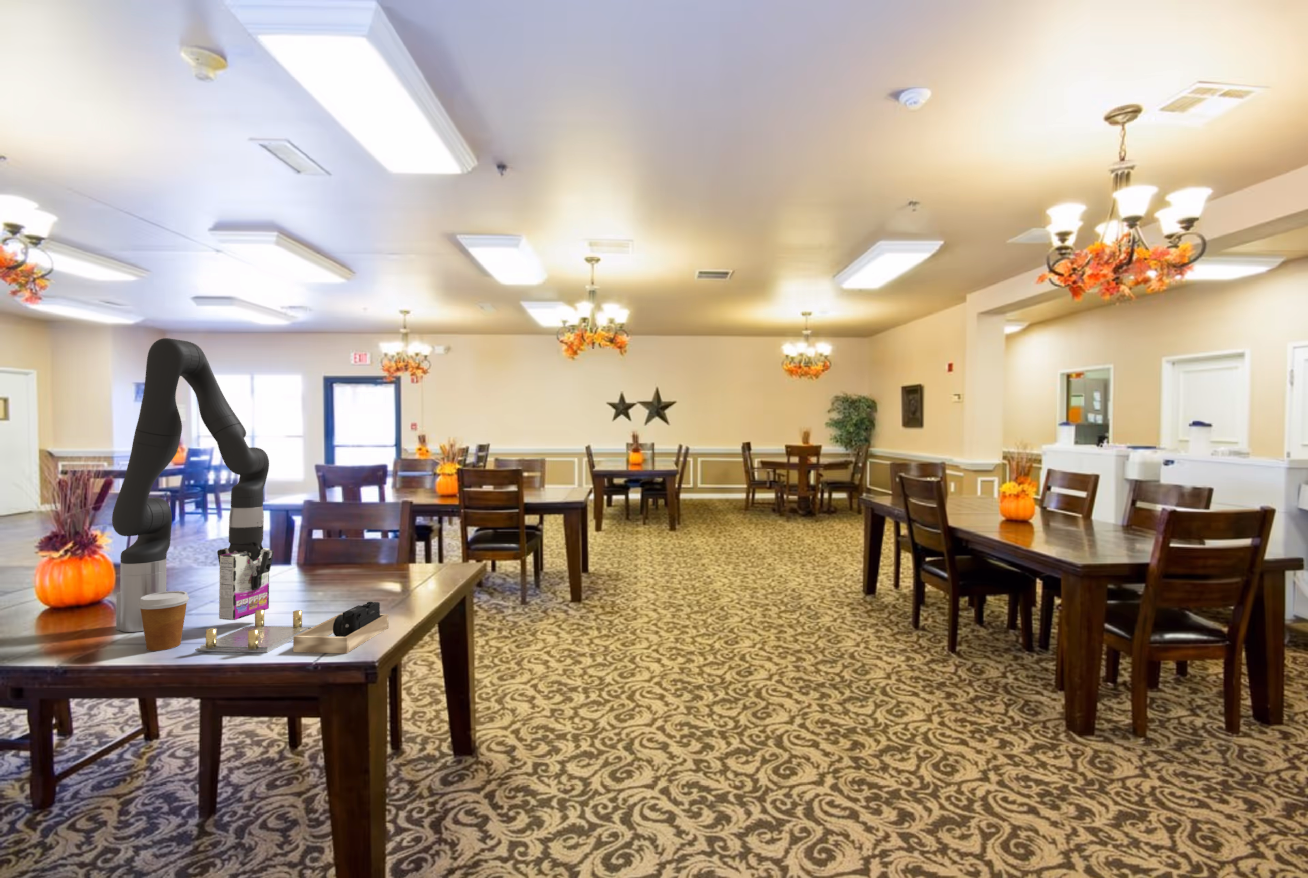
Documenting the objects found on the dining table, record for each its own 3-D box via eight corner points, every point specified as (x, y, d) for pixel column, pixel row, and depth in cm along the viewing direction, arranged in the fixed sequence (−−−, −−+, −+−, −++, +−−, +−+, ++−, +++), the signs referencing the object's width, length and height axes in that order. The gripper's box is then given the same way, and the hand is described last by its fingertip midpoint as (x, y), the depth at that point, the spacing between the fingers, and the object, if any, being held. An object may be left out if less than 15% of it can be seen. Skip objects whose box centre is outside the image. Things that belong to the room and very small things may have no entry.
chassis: (195, 653, 141) (195, 630, 141) (251, 629, 159) (251, 609, 159) (262, 654, 140) (262, 631, 140) (311, 630, 158) (311, 610, 158)
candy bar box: (253, 607, 167) (255, 546, 168) (269, 609, 166) (271, 548, 167) (216, 619, 156) (218, 554, 157) (233, 620, 156) (235, 555, 156)
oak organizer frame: (293, 652, 142) (293, 636, 142) (341, 626, 162) (341, 613, 162) (346, 653, 141) (346, 637, 141) (388, 627, 161) (388, 614, 161)
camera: (357, 628, 161) (358, 597, 161) (384, 628, 160) (384, 597, 160) (324, 646, 147) (324, 612, 147) (353, 646, 146) (354, 612, 146)
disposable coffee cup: (147, 656, 139) (147, 602, 139) (130, 648, 144) (130, 596, 144) (196, 644, 147) (196, 593, 147) (178, 637, 152) (179, 588, 152)
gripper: (208, 525, 158) (207, 591, 158) (263, 527, 157) (261, 593, 157) (230, 521, 166) (228, 585, 166) (282, 523, 165) (280, 587, 165)
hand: (244, 589), depth 162 cm, fingers closed on candy bar box, 5 cm apart
